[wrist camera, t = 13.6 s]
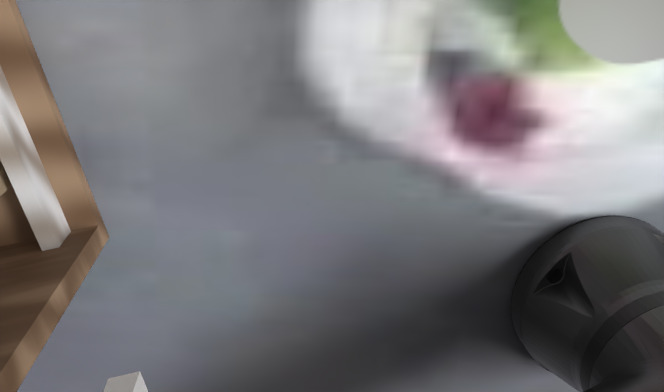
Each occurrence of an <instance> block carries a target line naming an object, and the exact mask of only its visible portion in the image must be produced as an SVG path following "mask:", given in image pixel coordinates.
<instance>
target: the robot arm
mask: <svg viewBox="0 0 664 392" xmlns="http://www.w3.org/2000/svg"><path fill="white" fill-rule="evenodd" d="M511 317H512V322H513V326H514V329H515V331H516V333H517V335H518V337H519V339H520V340H521V342H522V343H523V345H524V346H525V348H526V349H527V351H528V352H529V354H530V355H531V356H532V357H533V358H534V359H535V360H536V361H537V362H538V363H539V364H540V365H541V366H542V367H543V368H545V369H546V370H548V371H550V372H552V373H553V374H555V375H556V376H558V377H559V378H561V379H562V380H563V381H565V382H566V383H567V384H569V385H570V386H572V387H573V388H575V389H576V390H578V391H579V392H664V233H662V232H661V231H660V230H658V229H657V228H655V227H654V226H652V225H650V224H648V223H646V222H644V221H641V220H638V219H635V218H630V217H622V216H608V217H600V218H594V219H591V220H587V221H584V222H581V223H578V224H576V225H573V226H571V227H569V228H567V229H565V230H563V231H562V232H560V233H558V234H557V235H555V236H554V237H552V238H551V239H550V240H548V241H547V242H546V243H545V244H544V245H543V246H541V247H540V248H539V249H538V250H537V251H536V252H535V253H534V255H533V256H532V257H531V258H530V259H529V261H528V262H527V263H526V265H525V267H524V268H523V270H522V271H521V273H520V275H519V277H518V279H517V282H516V284H515V287H514V290H513V295H512V300H511ZM103 392H148V390H147V388H146V385H145V383H144V380H143V378H142V376H141V373H140V371H139V372H135V373H130V374H126V375H121V376H117V377H112V378H108V381H107V383H106V386H105V388H104V391H103Z"/></svg>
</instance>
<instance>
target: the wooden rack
mask: <svg viewBox="0 0 664 392" xmlns="http://www.w3.org/2000/svg"><path fill="white" fill-rule="evenodd" d="M0 160H1V162H2V164H3V166H4V169H5V171H6V173H7V175H8V177H9V180H10V182H11V184H12V187H10V188H9V189H8V190H7V191H6V192H5V193H3V194H2V195H1V196H0V392H17V390H18V388H19V387H20V385H21V383H22V382H23V380H24V378H25V377H26V375H27V373H28V372H29V370H30V368H31V367H32V365H33V363H34V362H35V360H36V358H37V357H38V355H39V353H40V352H41V350H42V348H43V347H44V345H45V343H46V342H47V340H48V338H49V337H50V335H51V333H52V332H53V330H54V328H55V327H56V325H57V323H58V322H59V320H60V318H61V317H62V315H63V313H64V312H65V310H66V308H67V307H68V305H69V303H70V302H71V300H72V298H73V297H74V295H75V293H76V292H77V290H78V288H79V287H80V285H81V283H82V282H83V280H84V278H85V277H86V275H87V273H88V272H89V270H90V268H91V267H92V265H93V263H94V262H95V260H96V258H97V257H98V255H99V253H100V252H101V250H102V248H103V247H104V245H105V243H106V242H107V240H108V238H109V235H108V233H107V230H106V228H105V225H104V223H103V220H102V218H101V215H100V213H99V210H98V208H97V205H96V203H95V200H94V198H93V195H92V193H91V190H90V188H89V185H88V183H87V180H86V178H85V175H84V172H83V170H82V167H81V165H80V162H79V160H78V157H77V155H76V152H75V150H74V147H73V145H72V142H71V140H70V137H69V135H68V132H67V130H66V127H65V125H64V122H63V120H62V117H61V115H60V112H59V109H58V107H57V104H56V102H55V99H54V97H53V94H52V92H51V89H50V87H49V84H48V82H47V79H46V77H45V74H44V72H43V69H42V67H41V64H40V62H39V59H38V57H37V54H36V52H35V49H34V46H33V44H32V41H31V39H30V36H29V34H28V31H27V29H26V26H25V24H24V21H23V19H22V16H21V14H20V11H19V9H18V6H17V4H16V1H15V0H0Z"/></svg>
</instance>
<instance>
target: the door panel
mask: <svg viewBox="0 0 664 392" xmlns="http://www.w3.org/2000/svg"><path fill="white" fill-rule="evenodd" d="M10 187H12V184H11V182H10V180H9V177H8V175H7V173H6V171H5V169H4V166H3V164H2V162H1V160H0V196H1V195H2V194H3V193H5V192H6V191H7V190H8V189H9V188H10Z"/></svg>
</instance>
